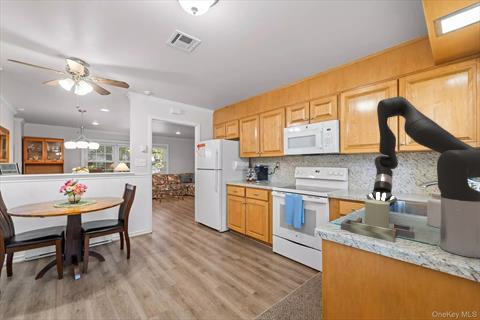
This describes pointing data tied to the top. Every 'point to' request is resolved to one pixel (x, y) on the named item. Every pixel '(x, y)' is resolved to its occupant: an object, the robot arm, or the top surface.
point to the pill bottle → (434, 210)
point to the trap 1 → (346, 224)
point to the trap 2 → (405, 231)
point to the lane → (373, 230)
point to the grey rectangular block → (377, 213)
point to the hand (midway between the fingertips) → (379, 213)
